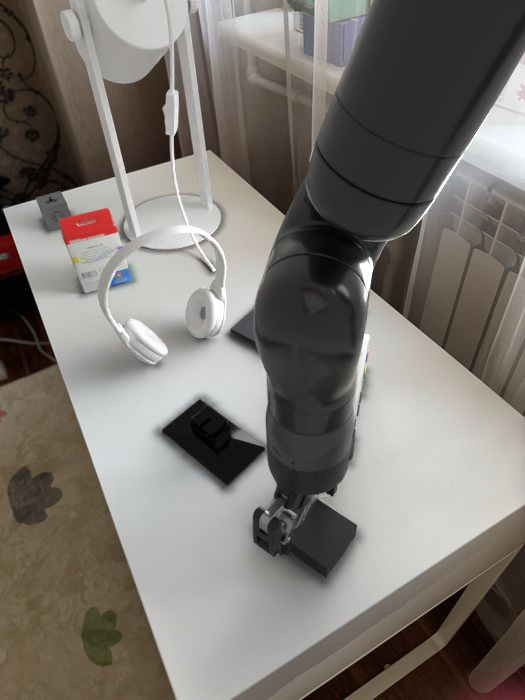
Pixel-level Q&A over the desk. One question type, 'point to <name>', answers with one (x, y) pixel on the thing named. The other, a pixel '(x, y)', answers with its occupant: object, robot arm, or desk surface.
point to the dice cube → (53, 209)
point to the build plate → (214, 441)
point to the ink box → (93, 247)
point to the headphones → (201, 308)
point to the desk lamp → (134, 64)
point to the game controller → (361, 375)
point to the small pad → (322, 537)
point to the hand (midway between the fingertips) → (305, 517)
